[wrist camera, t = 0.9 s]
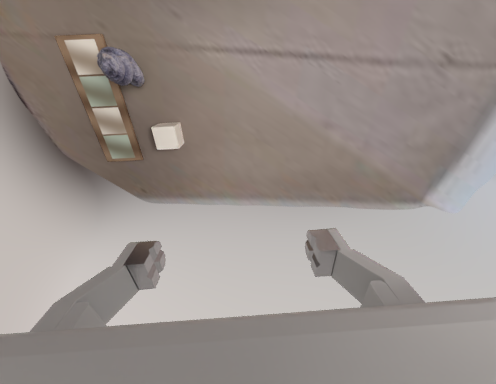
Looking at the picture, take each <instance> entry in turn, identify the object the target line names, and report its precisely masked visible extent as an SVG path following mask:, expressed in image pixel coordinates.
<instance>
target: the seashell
mask: <svg viewBox="0 0 496 384" xmlns="http://www.w3.org/2000/svg"><path fill="white" fill-rule="evenodd" d="M97 58H98V59H97V64H98V66H99V68H100V69H101V70H102V72H103V74H104V75H105V76H106V77H107V78H108V79H109V80H110V81H112V82H114V83H116V84H118V85H122V86H123V85H128V84H129V83H131V84H132V85H135V86H137V87H138V86H141V85H142V84H144V82H145V80H144V76H143V73H142V71H141V69H140V68H139V67H138V65H137V63H136V62H135V60H134V59H133V58H132V57H131V56H130V55H129V54H128V53H127V52H125V51H123V50H120V49H117V48H114V47H104V48H102V49H101V50H100V52H99V53H98V54H97Z"/></svg>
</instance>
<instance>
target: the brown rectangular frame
mask: <svg viewBox="0 0 496 384" xmlns="http://www.w3.org/2000/svg"><path fill="white" fill-rule="evenodd" d="M54 37H55V39H56V41H57V44H58V46H59V48H60V51H61V53H62V56H63V58H64V60H65V63H66V65H67V67H68V70H69V72H70V74H71V77H72V79H73V81H74V84H75V86H76V88H77V91H78V93H79V96H80V98H81V100H82V103H83V105H84V107H85V110H86V112H87V114H88V117H89V119H90V121H91V124H92V126H93V129H94V131H95V133H96V136H97V138H98V140H99V143H100V145H101V147H102V150H103V152H104V154H105V157H106V159H107V161H108V162H112V161H131V160H143V156H142V153H141V150H140V147H139V144H138V141H137V138H136V135H135V132H134V129H133V125H132V122H131V119H130V116H129V113H128V110H127V107H126V104H125V101H124V98H123V95H122V92H121V89H120V85H118V84H116V83H114V82H112V81H110V80H109V79H108V78H107V77H106V76H105V75H104V74H103V72H102V70H101V69H100V68H99V66H98V64H97V59H98V58H97V54H98V53H99V52H100V50H101V49H102V48H104V47H107V46H106V42H105V39H104V36H103V34H86V35H63V36H54Z"/></svg>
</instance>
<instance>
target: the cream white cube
mask: <svg viewBox="0 0 496 384" xmlns="http://www.w3.org/2000/svg"><path fill="white" fill-rule="evenodd" d="M151 129H152V133H153V136H154V140H155V143H156V147H157V150H164V149H179V148H180V147H181V146H182V145H183V144H184V139H183V134H182V129H181V125H180V122H176V123H159V124H157V125H155V126H153V127H151Z"/></svg>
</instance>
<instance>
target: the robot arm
mask: <svg viewBox="0 0 496 384" xmlns="http://www.w3.org/2000/svg"><path fill="white" fill-rule="evenodd" d="M307 238H308V240H307V242H306V246H305V249H306V254H307V257H308V259H309V260H310V261H311V267H312V270H313V272H314V274H315V277H317V276H332V278H334V279H335V280H336V281H337V282H338V283H339V284H340V285H341V286H342V287H344V288H345V289H346V290H347V291H348V292H349V293H350V294H351V295H353V296H354V297H355V298H356V299H357V300H358V301H359V302H360V303H361V304H362V305H361V307H360V308H348V309H334V310H322V311H307V312H296V313H282V314H268V315H256V316H242V317H229V318H214V319H201V320H189V321H188V320H187V321H175V322H160V323H147V324H134V325H120V326H106V325H105V324H106V323H107V322H108V321H109V320H110V319H111V318H112V317H113V316H114V315H115V314H116V313H117V312H118V311H119V310H120V309H121V308H122V307H123V306H124V305H125V304H126V303H127V302H128V301H129V300H130V299H131V298H132V297H133V296H134V295H135V294H136V293H137V292H138V291H139V290H143V289H152V288H156V285H157V283H158V280H159V278H160V276H159V272H161V271H162V270H163V268H164V265H165V254H164V252H163V251H161V250H160V249H161V244H160V242H159V241H148V242H131V243H129V244H128V245H127V246H126V247H125V249H124V250H123V252H122V253H121V254H120V256H119V257H118V259H117V260H116V261H115V263H114V264H113V266H112V267H108V268H106V269H105V270H103V271H102V272H100V273H99V274H97V275H96V276H94V277H93V278H91V279H90V280H88V281H87V282H85V283H84V284H82V285H81V286H79V287H78V288H76V289H75V290H74V291H72V292H70V293H69V294H67V295H66V296H64V297H63V298H61V299H60V300H58V301H57V302H55V303H54V304H53V305H52V306H51V307H50V309H49V310H48V311H47V312H46V313H45V315H44V316H43V317H42V318H41V319H40V320H39V321H38V323H37V324H36V325H35V326H34V327H33V328H32V330H31V331H30V332H26V333H13V334H0V384H496V297H494V298H482V299H468V300H455V301H443V302H428V303H425V302H424V301H423V300H422V298H421V297H420V296H419V295H418V294H417V292H416V291H415V290H414V289H413V288H412V287H411V286H410V284H409V283H408V282H407V281H406V280H405V279H404V278H403V277H401V276H400V275H398V274H396V273H395V272H393V271H391V270H389V269H388V268H386V267H384V266H382V265H381V264H379V263H377V262H375V261H373V260H372V259H370V258H368V257H367V256H365V255H363V254H361V253H360V252H358V251H356V250H354V249H350V247H349V246H348V244H347V243H346V241H345V240H344V239H343V237H342V236H341V234H340V233H339V231H338V230H337V229H336V228H330V229H320V230H308V231H307Z"/></svg>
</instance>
